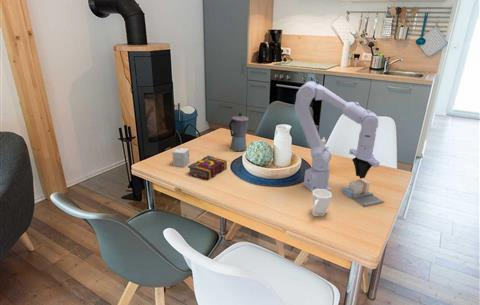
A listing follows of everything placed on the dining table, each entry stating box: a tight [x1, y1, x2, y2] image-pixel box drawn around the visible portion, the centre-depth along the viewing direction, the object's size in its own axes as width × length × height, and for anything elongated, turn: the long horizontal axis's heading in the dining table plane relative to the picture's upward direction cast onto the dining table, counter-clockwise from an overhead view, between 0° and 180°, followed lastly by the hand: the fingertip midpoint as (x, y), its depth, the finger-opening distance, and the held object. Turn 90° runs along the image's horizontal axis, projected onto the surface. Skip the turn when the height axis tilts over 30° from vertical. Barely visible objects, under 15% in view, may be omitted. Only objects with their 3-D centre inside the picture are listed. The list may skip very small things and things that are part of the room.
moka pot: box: [228, 112, 250, 152], centre depth 171 cm, size 10×15×20 cm, turn 148°
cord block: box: [348, 178, 371, 196], centre depth 129 cm, size 7×4×5 cm, turn 110°
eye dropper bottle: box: [321, 136, 329, 151], centre depth 161 cm, size 4×6×12 cm
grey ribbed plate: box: [341, 186, 385, 208], centre depth 127 cm, size 10×13×3 cm
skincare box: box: [171, 147, 191, 168], centre depth 154 cm, size 6×6×7 cm
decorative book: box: [187, 155, 228, 181], centre depth 147 cm, size 11×16×5 cm
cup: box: [312, 189, 333, 217], centre depth 114 cm, size 7×10×8 cm
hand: (360, 176), depth 127 cm, fingers closed
